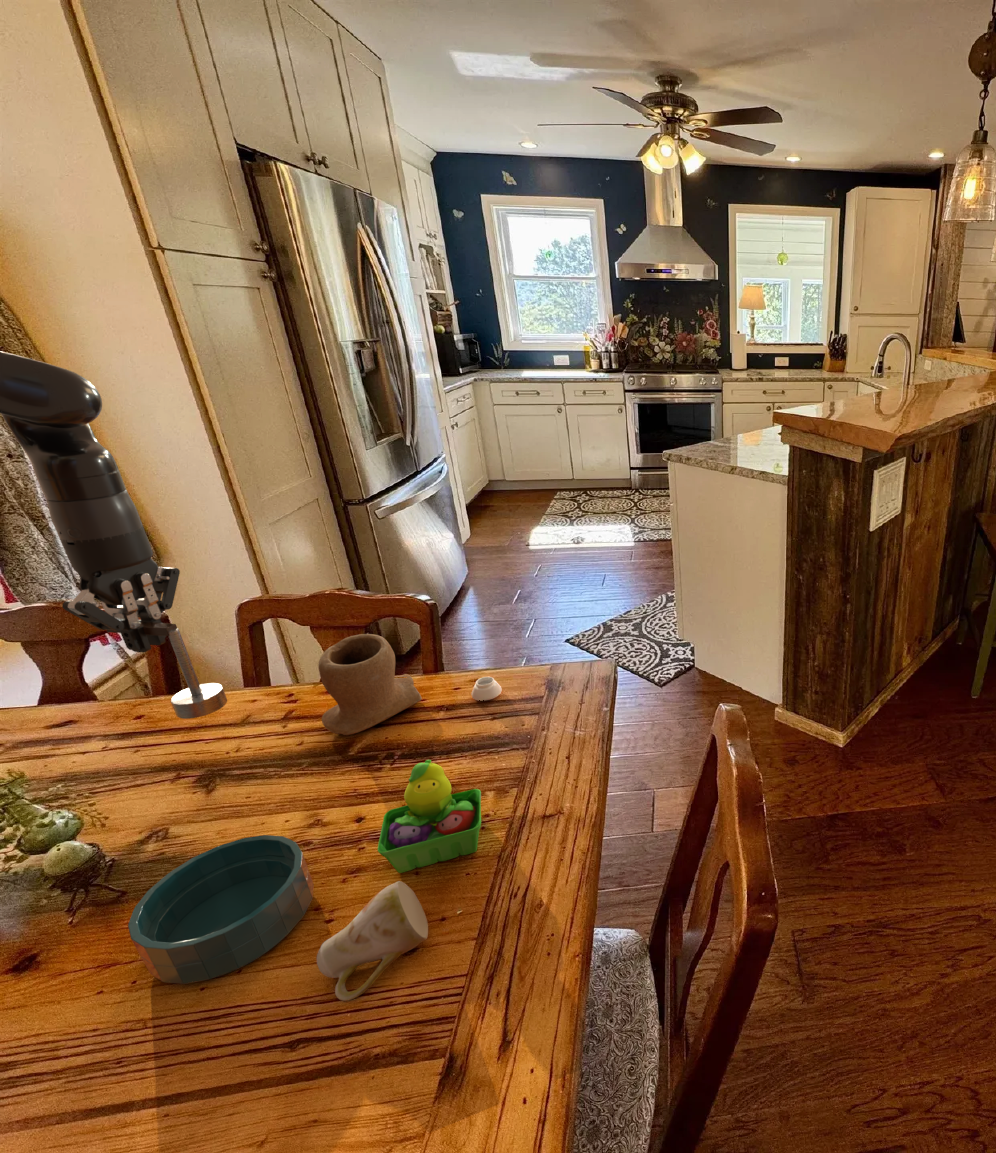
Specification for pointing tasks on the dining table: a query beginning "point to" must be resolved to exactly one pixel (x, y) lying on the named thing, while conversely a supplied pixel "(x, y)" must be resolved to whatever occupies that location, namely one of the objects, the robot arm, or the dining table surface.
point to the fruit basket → (430, 821)
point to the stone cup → (363, 684)
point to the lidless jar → (486, 689)
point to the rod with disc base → (187, 678)
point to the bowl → (222, 909)
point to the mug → (374, 937)
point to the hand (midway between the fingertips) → (149, 647)
